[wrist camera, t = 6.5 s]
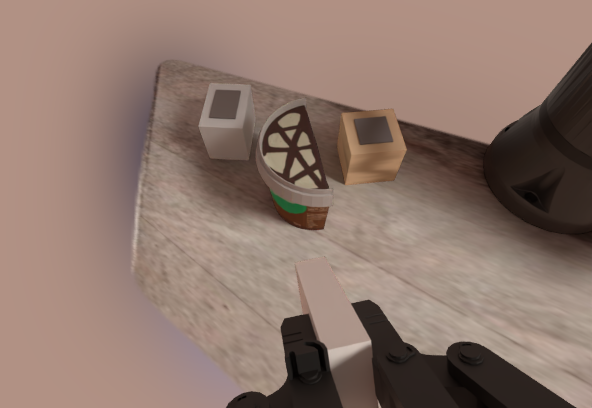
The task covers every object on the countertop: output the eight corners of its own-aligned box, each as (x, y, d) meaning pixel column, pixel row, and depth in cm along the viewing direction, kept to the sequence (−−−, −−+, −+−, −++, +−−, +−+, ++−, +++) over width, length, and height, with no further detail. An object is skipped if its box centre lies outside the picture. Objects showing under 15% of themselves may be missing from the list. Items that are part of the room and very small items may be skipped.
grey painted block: (255, 119, 48) (250, 83, 43) (249, 160, 45) (242, 127, 39) (219, 117, 48) (209, 81, 43) (210, 158, 45) (197, 125, 39)
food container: (256, 161, 44) (245, 102, 36) (303, 153, 45) (304, 93, 36) (271, 251, 39) (263, 206, 30) (326, 241, 39) (334, 194, 30)
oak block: (382, 142, 46) (393, 107, 41) (393, 180, 43) (407, 148, 38) (336, 146, 46) (341, 112, 40) (345, 185, 43) (351, 153, 37)
